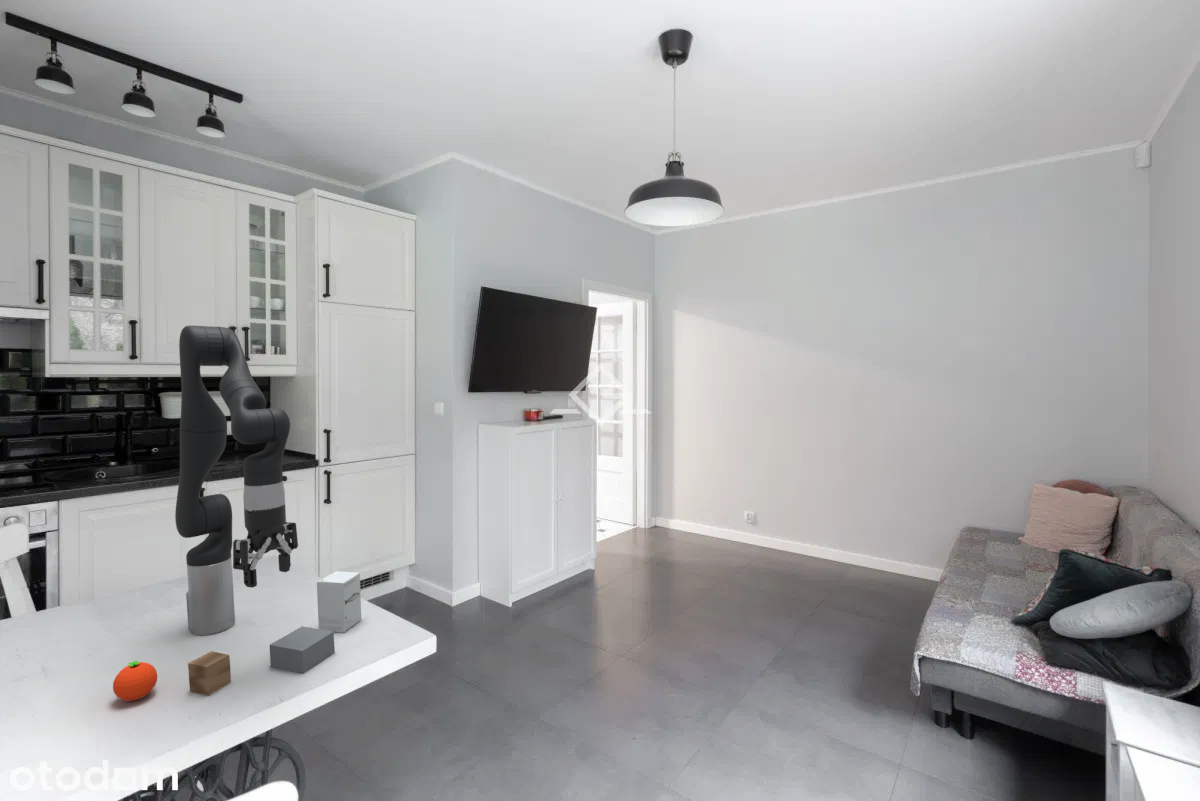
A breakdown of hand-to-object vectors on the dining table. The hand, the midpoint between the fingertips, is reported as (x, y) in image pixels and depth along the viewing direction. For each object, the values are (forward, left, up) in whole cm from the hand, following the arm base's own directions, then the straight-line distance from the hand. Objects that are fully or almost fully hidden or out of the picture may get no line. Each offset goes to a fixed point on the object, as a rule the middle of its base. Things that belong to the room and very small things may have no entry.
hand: (268, 578), depth 123 cm
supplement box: (-2, +22, -21) cm, 30 cm away
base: (+2, +6, -21) cm, 21 cm away
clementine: (-19, -15, -21) cm, 32 cm away
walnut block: (-8, -8, -21) cm, 23 cm away
